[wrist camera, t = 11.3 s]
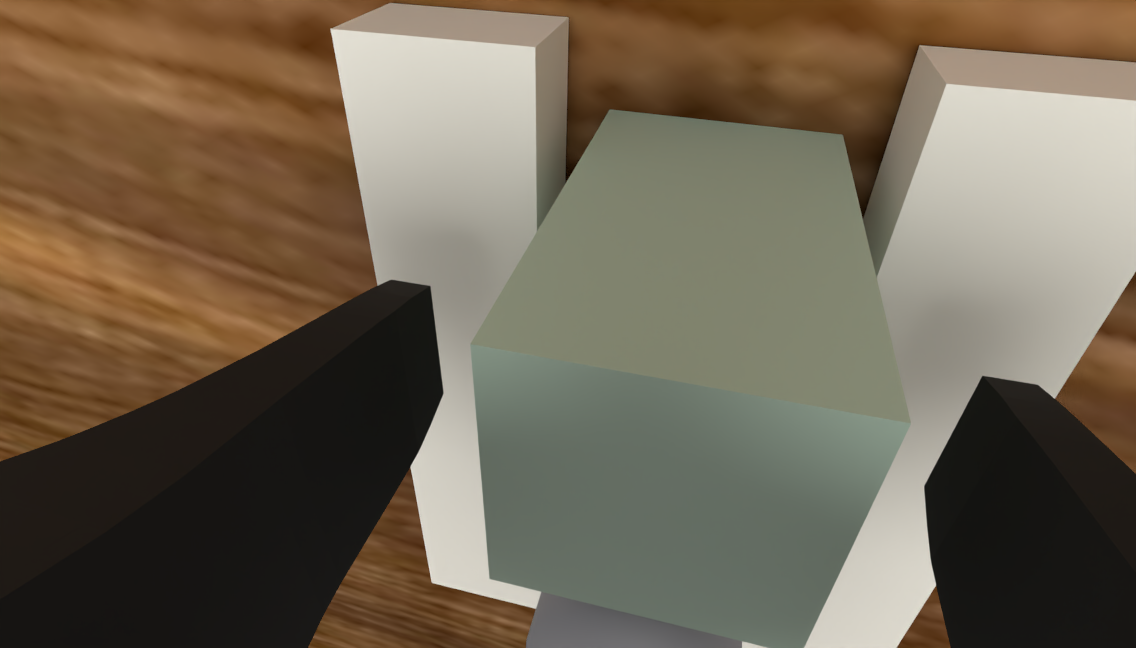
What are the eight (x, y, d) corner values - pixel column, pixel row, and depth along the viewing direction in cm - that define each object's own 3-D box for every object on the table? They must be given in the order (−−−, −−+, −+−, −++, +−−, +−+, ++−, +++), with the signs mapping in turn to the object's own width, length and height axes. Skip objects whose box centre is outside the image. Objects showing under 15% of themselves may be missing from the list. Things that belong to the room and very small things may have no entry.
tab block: (788, 324, 13) (799, 656, 8) (598, 293, 14) (489, 578, 9) (842, 134, 11) (911, 423, 6) (609, 109, 12) (469, 343, 6)
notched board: (860, 619, 18) (886, 856, 14) (457, 526, 21) (374, 707, 16) (1161, 65, 9) (1484, 254, 5) (390, 2, 12) (165, 100, 7)
